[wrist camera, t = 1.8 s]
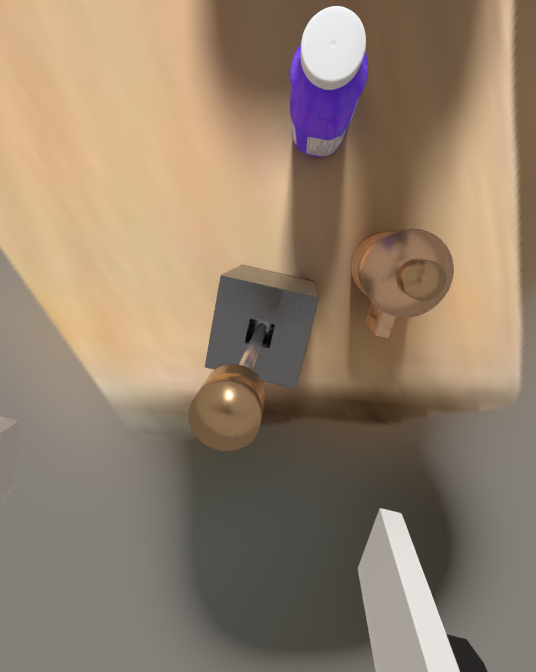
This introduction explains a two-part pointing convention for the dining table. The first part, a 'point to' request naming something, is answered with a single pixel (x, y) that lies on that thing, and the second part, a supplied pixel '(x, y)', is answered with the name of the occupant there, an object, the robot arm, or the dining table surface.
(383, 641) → the robot arm
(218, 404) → the plunger tall
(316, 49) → the bottle
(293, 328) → the cube with square hole
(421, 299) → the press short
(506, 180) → the dining table surface
